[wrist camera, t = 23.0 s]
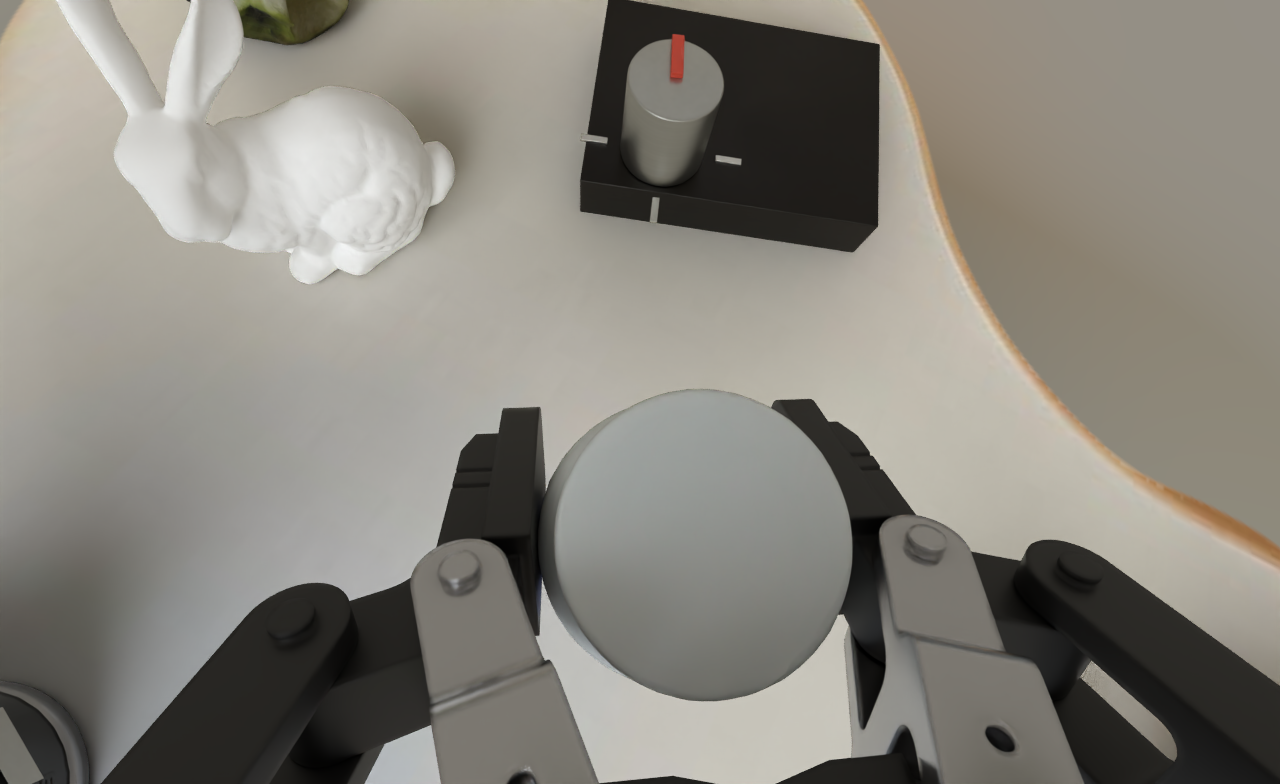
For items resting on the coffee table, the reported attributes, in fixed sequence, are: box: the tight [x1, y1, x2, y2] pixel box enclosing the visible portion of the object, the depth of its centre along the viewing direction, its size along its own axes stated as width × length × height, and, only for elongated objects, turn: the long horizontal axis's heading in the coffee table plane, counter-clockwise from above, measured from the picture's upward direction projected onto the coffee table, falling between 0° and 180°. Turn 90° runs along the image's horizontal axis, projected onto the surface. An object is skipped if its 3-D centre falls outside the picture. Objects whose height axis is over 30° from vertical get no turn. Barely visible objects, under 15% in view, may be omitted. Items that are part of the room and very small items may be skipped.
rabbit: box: [56, 0, 455, 284], centre depth 26 cm, size 12×9×12 cm
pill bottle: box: [538, 389, 852, 701], centre depth 12 cm, size 5×5×8 cm
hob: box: [580, 0, 880, 252], centre depth 33 cm, size 16×14×3 cm
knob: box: [620, 34, 724, 187], centre depth 29 cm, size 4×4×5 cm
